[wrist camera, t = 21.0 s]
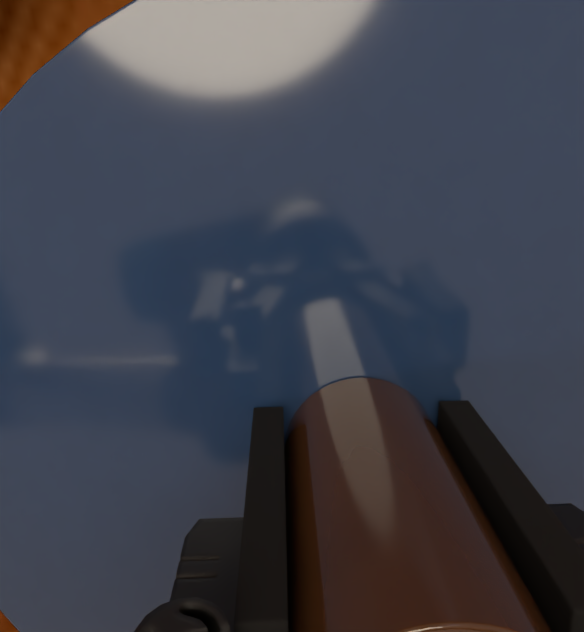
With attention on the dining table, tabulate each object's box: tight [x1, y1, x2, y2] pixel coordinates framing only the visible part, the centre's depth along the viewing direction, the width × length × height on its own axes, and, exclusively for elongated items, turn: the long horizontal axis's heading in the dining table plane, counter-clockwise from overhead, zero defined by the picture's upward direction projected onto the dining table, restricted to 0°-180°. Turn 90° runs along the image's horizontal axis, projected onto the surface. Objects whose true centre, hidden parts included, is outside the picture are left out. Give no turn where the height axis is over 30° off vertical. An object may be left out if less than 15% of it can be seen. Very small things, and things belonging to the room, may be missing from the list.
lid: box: [0, 0, 584, 632], centre depth 11 cm, size 23×23×9 cm
